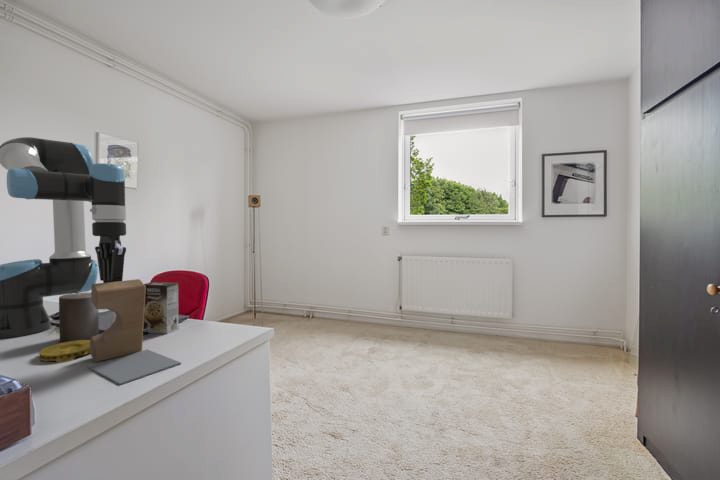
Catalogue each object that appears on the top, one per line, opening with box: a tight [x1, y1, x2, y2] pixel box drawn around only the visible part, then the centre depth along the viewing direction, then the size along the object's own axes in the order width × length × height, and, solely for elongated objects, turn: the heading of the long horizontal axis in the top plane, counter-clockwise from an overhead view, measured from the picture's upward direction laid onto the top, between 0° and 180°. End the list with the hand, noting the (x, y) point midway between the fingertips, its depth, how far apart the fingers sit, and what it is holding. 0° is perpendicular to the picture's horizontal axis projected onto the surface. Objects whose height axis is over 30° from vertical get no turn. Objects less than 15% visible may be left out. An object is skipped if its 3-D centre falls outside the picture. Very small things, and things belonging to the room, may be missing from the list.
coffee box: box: [143, 281, 180, 335], centre depth 117 cm, size 9×6×16 cm
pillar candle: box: [58, 291, 100, 343], centre depth 108 cm, size 10×10×15 cm
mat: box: [87, 349, 182, 386], centre depth 88 cm, size 17×14×1 cm
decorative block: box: [89, 278, 146, 363], centre depth 93 cm, size 11×6×20 cm, turn 137°
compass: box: [38, 340, 90, 363], centre depth 96 cm, size 12×12×2 cm
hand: (112, 306), depth 96 cm, fingers closed
